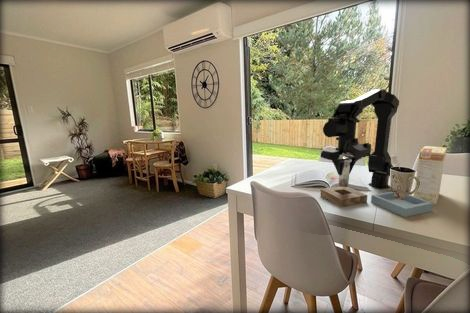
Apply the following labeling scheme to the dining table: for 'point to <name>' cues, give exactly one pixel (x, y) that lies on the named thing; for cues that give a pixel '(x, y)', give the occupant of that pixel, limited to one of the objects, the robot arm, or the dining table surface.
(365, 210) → the dining table surface
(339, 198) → the socket block
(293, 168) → the dining table surface
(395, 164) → the eye dropper bottle
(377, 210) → the dining table surface
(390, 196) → the tray
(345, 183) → the clear glass cylinder
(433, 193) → the coffeecake box
